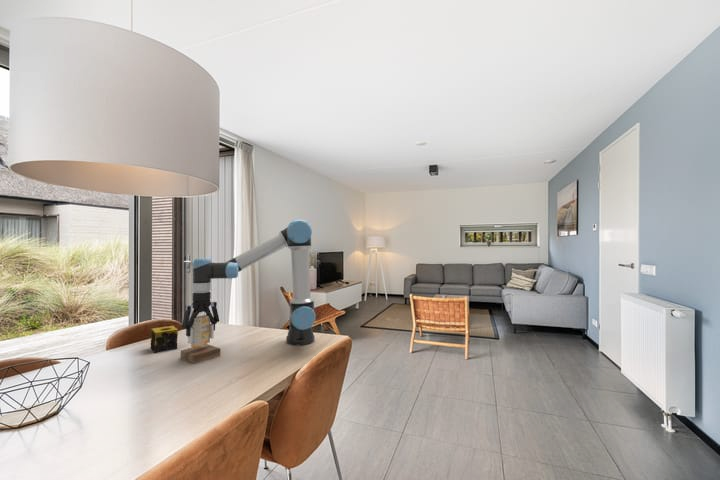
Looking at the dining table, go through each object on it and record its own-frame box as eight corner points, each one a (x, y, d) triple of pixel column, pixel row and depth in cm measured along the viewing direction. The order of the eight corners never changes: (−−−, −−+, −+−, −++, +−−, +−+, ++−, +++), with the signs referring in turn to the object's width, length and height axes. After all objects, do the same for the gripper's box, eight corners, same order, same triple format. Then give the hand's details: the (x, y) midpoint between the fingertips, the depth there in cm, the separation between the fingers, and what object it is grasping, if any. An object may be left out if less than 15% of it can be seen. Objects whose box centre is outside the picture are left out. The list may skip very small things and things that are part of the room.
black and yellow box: (150, 348, 155) (150, 328, 156) (173, 344, 162) (173, 325, 162) (153, 353, 148) (154, 332, 148) (177, 349, 155) (178, 329, 155)
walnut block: (220, 357, 145) (220, 348, 145) (194, 364, 135) (194, 355, 135) (206, 352, 151) (206, 343, 152) (180, 359, 142) (180, 350, 142)
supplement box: (201, 347, 139) (201, 318, 139) (190, 347, 139) (191, 318, 140) (210, 342, 147) (210, 314, 148) (200, 342, 148) (200, 314, 148)
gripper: (219, 288, 155) (218, 333, 154) (172, 293, 137) (171, 345, 136) (227, 289, 151) (227, 336, 150) (181, 295, 133) (180, 348, 132)
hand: (200, 340), depth 143 cm, fingers closed on supplement box, 9 cm apart
